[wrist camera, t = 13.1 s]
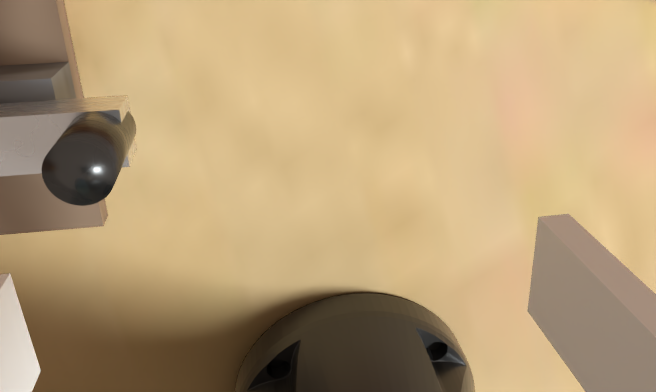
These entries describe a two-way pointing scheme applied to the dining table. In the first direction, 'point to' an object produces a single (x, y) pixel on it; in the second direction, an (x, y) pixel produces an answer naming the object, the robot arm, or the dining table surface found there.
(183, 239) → the dining table surface
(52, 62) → the dock socket
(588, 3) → the dining table surface
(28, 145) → the lock bolt
